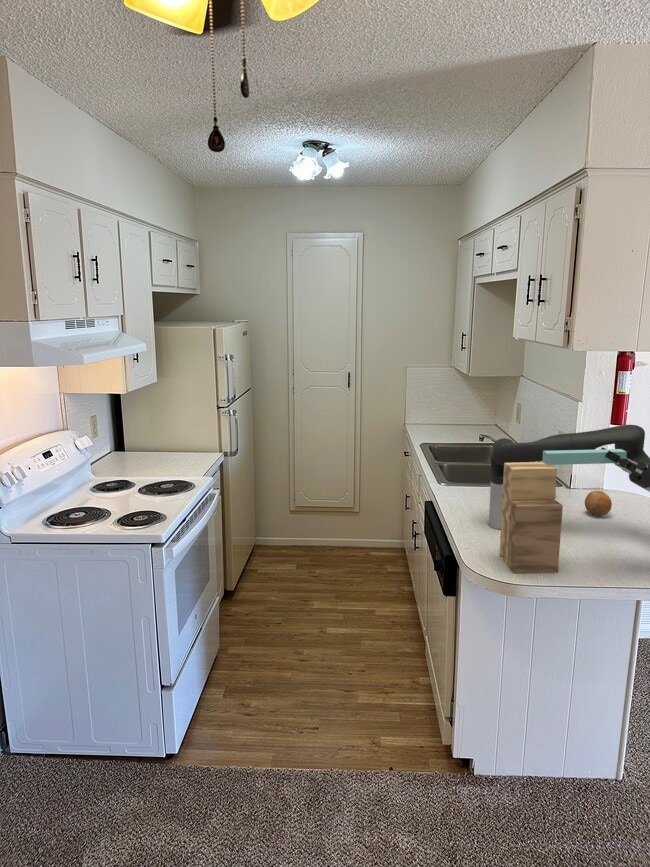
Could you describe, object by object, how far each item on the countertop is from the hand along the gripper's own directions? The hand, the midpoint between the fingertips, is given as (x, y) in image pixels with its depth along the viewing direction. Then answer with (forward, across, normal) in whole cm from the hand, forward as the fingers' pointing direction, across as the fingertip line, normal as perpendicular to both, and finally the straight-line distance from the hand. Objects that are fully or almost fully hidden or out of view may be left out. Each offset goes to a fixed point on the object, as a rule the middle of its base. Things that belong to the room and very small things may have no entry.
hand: (604, 451), depth 181 cm
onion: (-39, -47, +22) cm, 65 cm away
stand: (-2, -7, +43) cm, 43 cm away
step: (-2, 0, +43) cm, 43 cm away
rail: (+4, 0, +6) cm, 7 cm away
